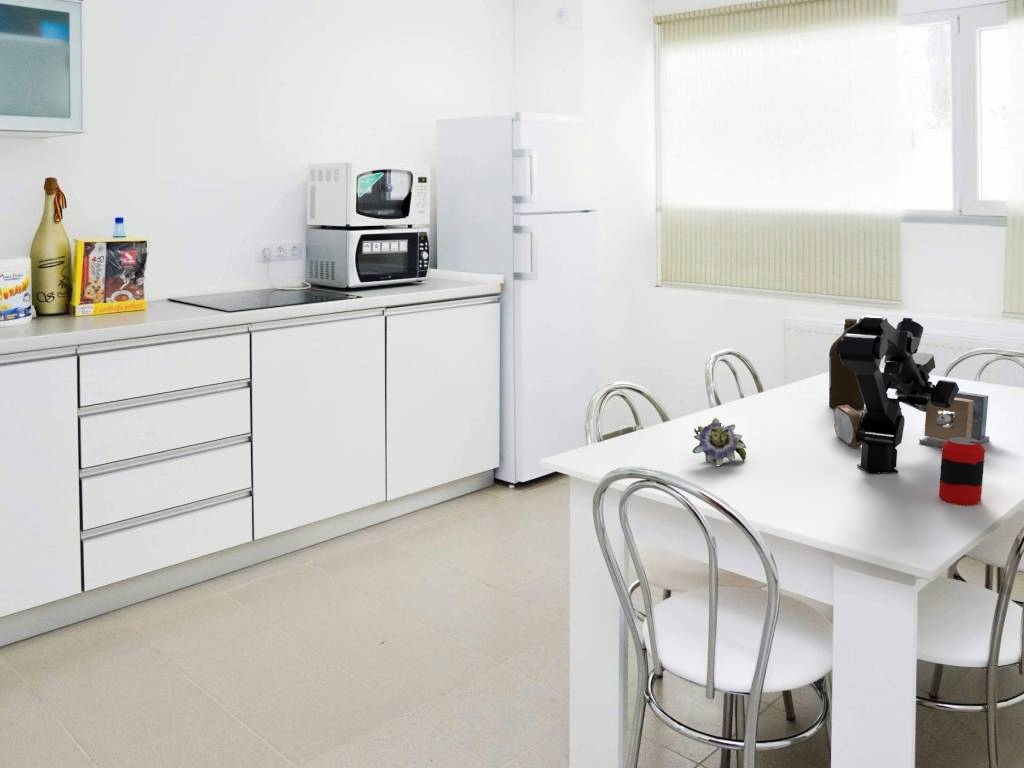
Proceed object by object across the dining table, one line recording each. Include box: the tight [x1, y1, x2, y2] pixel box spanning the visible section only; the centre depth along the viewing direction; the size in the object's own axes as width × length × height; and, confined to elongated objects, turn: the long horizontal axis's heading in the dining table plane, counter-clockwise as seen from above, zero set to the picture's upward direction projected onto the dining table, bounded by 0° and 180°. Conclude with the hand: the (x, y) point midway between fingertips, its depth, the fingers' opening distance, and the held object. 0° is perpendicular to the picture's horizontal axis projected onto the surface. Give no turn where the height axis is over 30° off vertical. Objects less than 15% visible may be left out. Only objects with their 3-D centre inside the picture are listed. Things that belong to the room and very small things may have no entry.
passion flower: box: [692, 417, 747, 466], centre depth 217 cm, size 11×11×12 cm
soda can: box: [938, 437, 986, 506], centre depth 186 cm, size 8×8×12 cm
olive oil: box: [828, 318, 865, 411], centre depth 266 cm, size 11×11×25 cm
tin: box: [833, 405, 862, 447], centre depth 231 cm, size 15×3×8 cm, turn 179°
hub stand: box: [918, 390, 991, 449], centre depth 229 cm, size 14×10×11 cm
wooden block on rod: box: [923, 397, 974, 440], centre depth 226 cm, size 2×10×10 cm, turn 39°
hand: (925, 410), depth 225 cm, fingers closed
